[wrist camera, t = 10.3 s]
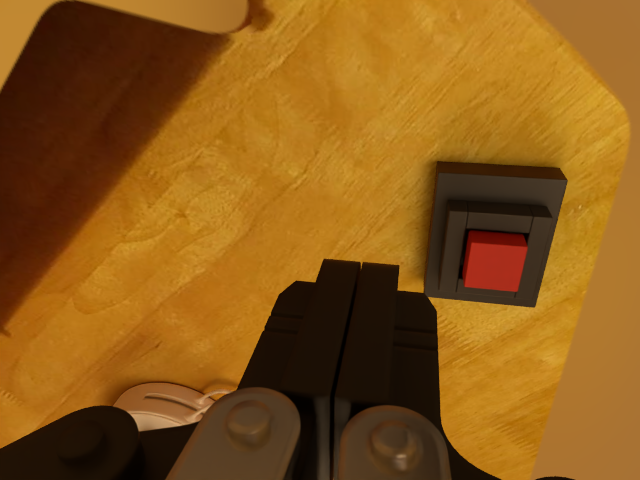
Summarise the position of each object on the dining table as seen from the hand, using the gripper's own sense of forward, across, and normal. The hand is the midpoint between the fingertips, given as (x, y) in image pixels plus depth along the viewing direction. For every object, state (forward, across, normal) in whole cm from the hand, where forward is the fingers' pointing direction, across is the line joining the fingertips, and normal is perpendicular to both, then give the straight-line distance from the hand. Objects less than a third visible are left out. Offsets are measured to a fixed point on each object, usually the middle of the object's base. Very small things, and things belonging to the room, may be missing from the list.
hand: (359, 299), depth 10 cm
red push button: (+25, -7, +11) cm, 28 cm away
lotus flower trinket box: (+25, +20, +38) cm, 49 cm away
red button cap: (+21, -7, +11) cm, 25 cm away
